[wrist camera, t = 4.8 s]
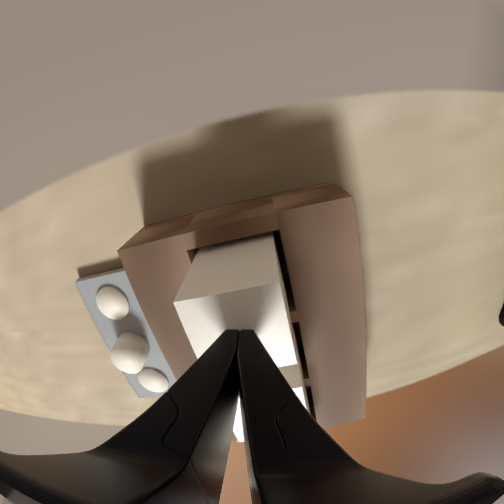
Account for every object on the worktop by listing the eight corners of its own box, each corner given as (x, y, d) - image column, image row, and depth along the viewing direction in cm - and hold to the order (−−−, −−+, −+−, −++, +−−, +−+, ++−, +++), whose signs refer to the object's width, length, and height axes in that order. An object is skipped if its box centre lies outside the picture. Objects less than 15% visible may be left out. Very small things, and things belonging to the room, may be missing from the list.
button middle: (290, 312, 15) (302, 386, 10) (300, 359, 16) (311, 432, 11) (227, 324, 15) (216, 399, 10) (243, 369, 16) (238, 441, 12)
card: (135, 264, 16) (121, 282, 14) (193, 389, 20) (187, 411, 18) (79, 278, 17) (61, 294, 15) (140, 392, 20) (132, 412, 18)
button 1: (272, 228, 13) (279, 281, 9) (286, 292, 14) (297, 363, 10) (201, 244, 13) (173, 302, 9) (220, 305, 15) (206, 377, 10)
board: (332, 182, 14) (353, 196, 11) (354, 381, 19) (365, 418, 16) (144, 226, 16) (117, 250, 12) (218, 405, 20) (213, 442, 17)
